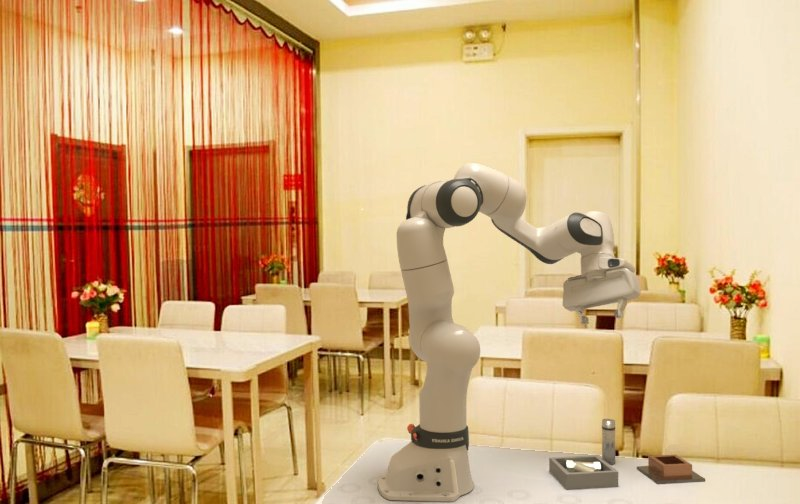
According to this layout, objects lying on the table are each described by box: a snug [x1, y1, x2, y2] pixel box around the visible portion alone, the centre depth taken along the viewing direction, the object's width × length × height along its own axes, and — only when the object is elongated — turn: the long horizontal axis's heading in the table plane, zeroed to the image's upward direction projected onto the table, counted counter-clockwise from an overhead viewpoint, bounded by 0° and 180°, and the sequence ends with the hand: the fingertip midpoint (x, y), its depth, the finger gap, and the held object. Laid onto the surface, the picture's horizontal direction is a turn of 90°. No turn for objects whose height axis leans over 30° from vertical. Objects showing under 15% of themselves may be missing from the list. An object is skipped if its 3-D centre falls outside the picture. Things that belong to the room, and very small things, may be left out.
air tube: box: [601, 418, 616, 466], centre depth 163 cm, size 3×3×11 cm
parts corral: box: [548, 454, 619, 490], centre depth 152 cm, size 12×12×4 cm
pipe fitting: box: [566, 460, 601, 473], centre depth 153 cm, size 8×4×7 cm
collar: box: [636, 454, 706, 485], centre depth 154 cm, size 12×10×4 cm
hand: (601, 320), depth 160 cm, fingers open, 8 cm apart
